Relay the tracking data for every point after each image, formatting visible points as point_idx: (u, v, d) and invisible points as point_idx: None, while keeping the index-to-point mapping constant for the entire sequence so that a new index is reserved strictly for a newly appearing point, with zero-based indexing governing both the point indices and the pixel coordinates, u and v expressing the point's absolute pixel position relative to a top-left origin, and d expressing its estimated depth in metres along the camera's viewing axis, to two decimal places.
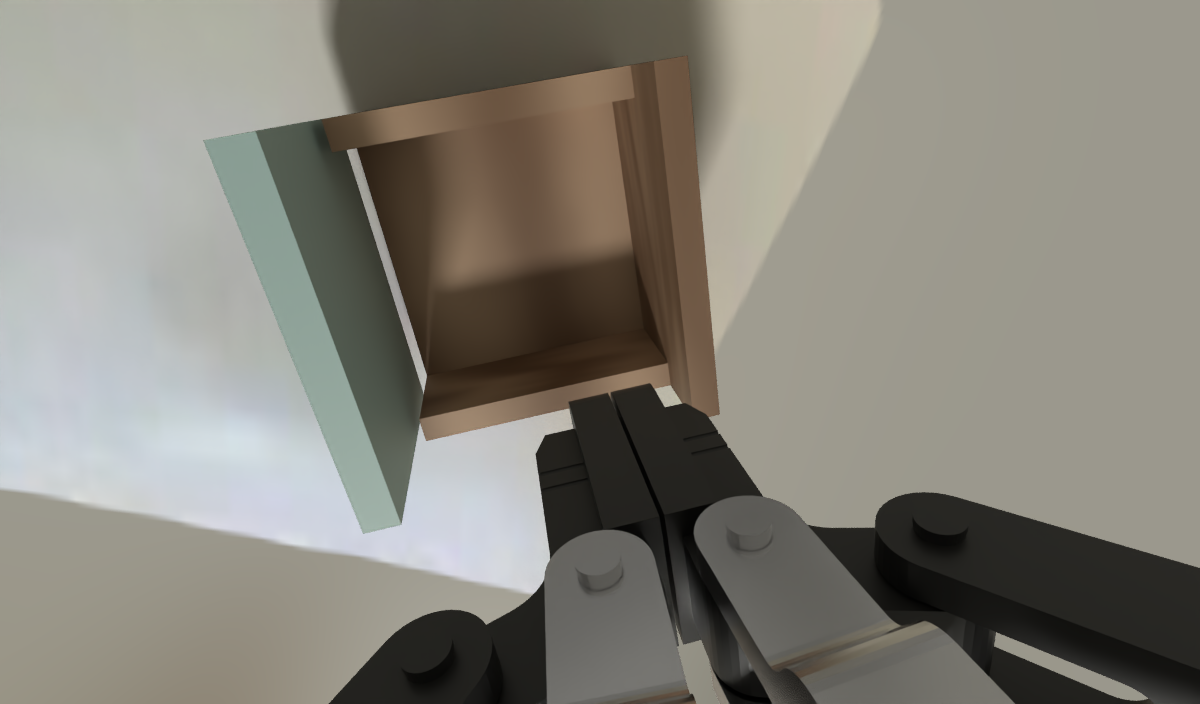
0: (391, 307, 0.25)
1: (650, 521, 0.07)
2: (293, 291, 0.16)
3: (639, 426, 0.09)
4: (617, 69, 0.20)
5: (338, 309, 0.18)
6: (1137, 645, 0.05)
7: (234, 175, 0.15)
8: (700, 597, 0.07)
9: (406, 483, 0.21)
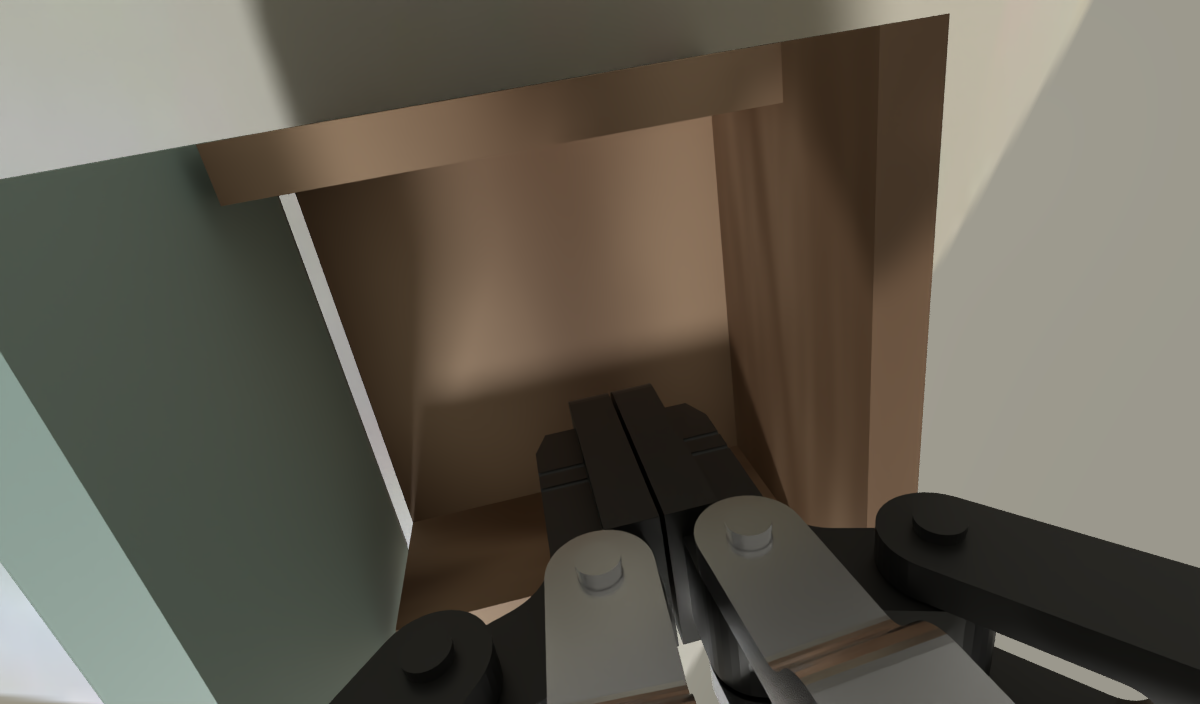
0: (354, 434, 0.16)
1: (650, 521, 0.07)
2: (73, 557, 0.07)
3: (639, 426, 0.09)
4: (757, 49, 0.11)
5: (210, 541, 0.09)
6: (1137, 645, 0.05)
7: None
8: (700, 597, 0.07)
9: None
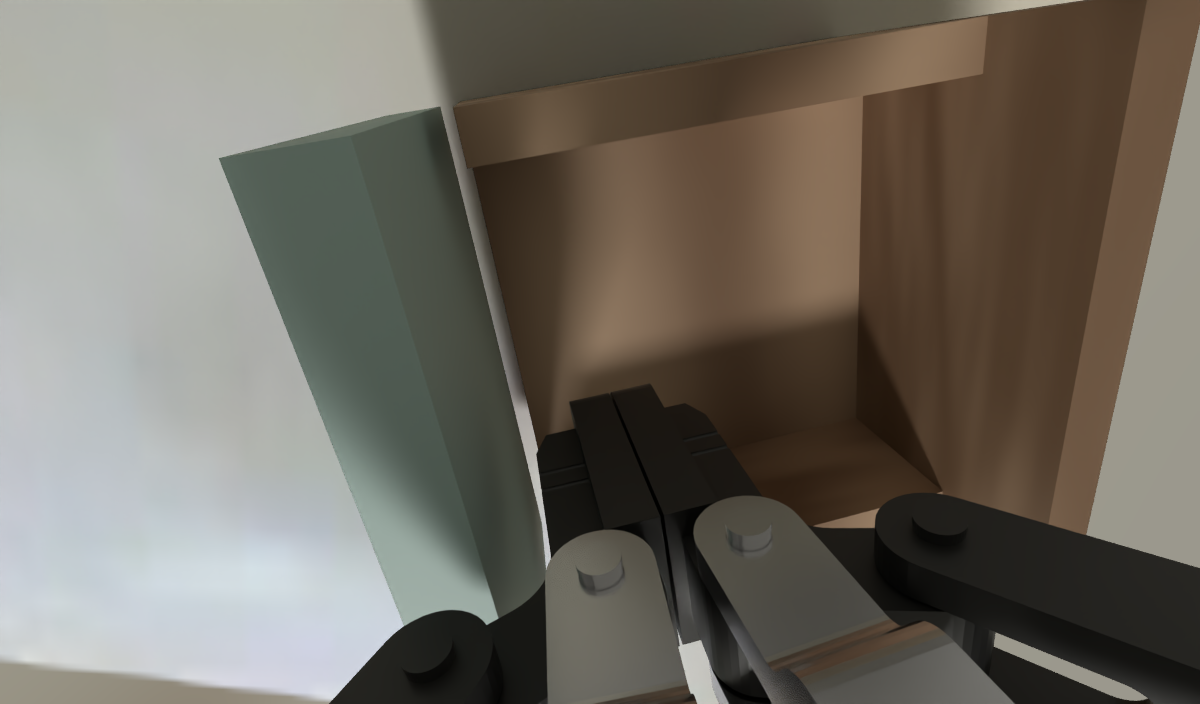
0: (510, 404, 0.16)
1: (650, 521, 0.07)
2: (413, 490, 0.07)
3: (639, 426, 0.09)
4: (966, 22, 0.11)
5: (481, 487, 0.09)
6: (1136, 645, 0.05)
7: (294, 244, 0.06)
8: (700, 597, 0.07)
9: None
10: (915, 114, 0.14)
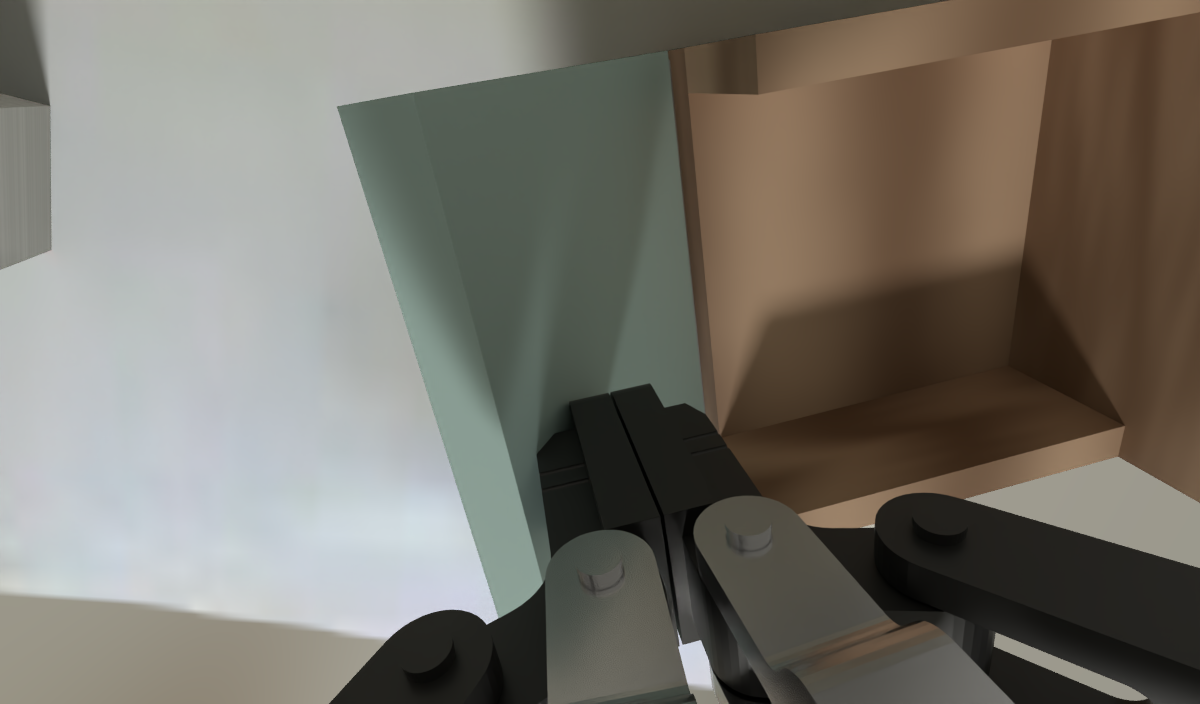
0: (688, 352, 0.17)
1: (650, 521, 0.07)
2: (464, 393, 0.09)
3: (639, 426, 0.09)
4: None
5: (554, 412, 0.10)
6: (1136, 645, 0.05)
7: (381, 177, 0.08)
8: (700, 597, 0.07)
9: None
10: (1124, 55, 0.14)
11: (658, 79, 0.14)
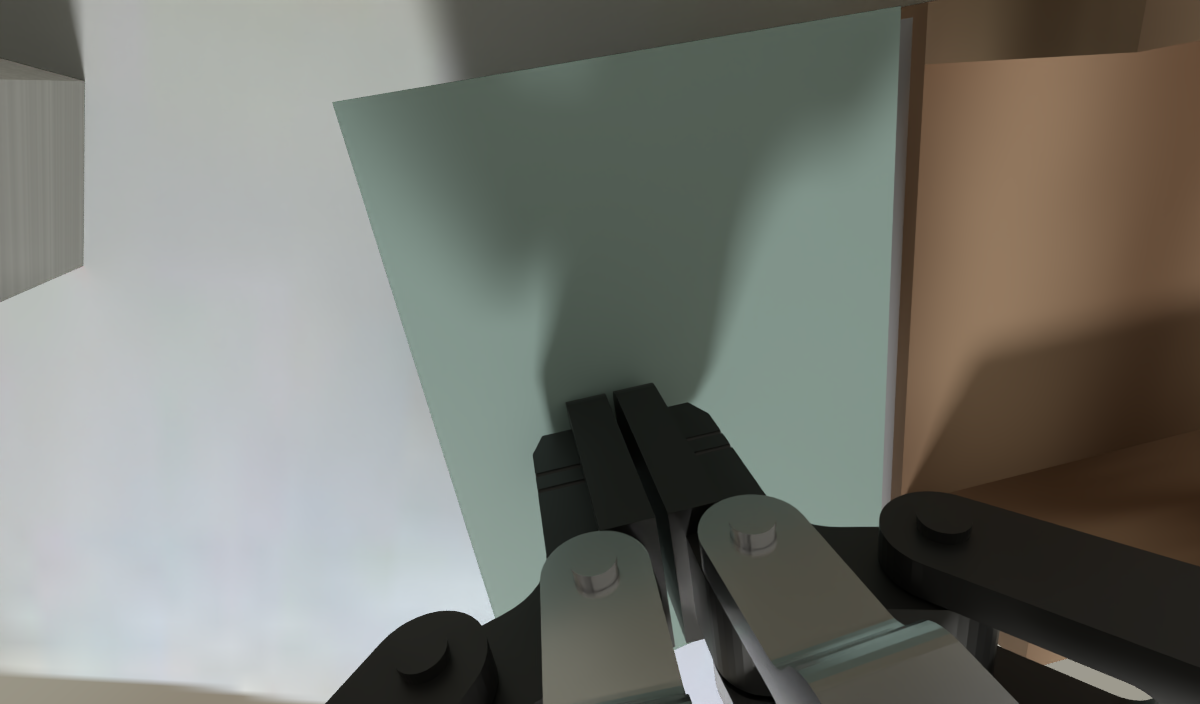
0: (853, 406, 0.13)
1: (654, 520, 0.07)
2: None
3: (642, 425, 0.09)
4: None
5: (519, 409, 0.10)
6: (1141, 644, 0.05)
7: None
8: (704, 596, 0.07)
9: None
10: None
11: (858, 50, 0.10)
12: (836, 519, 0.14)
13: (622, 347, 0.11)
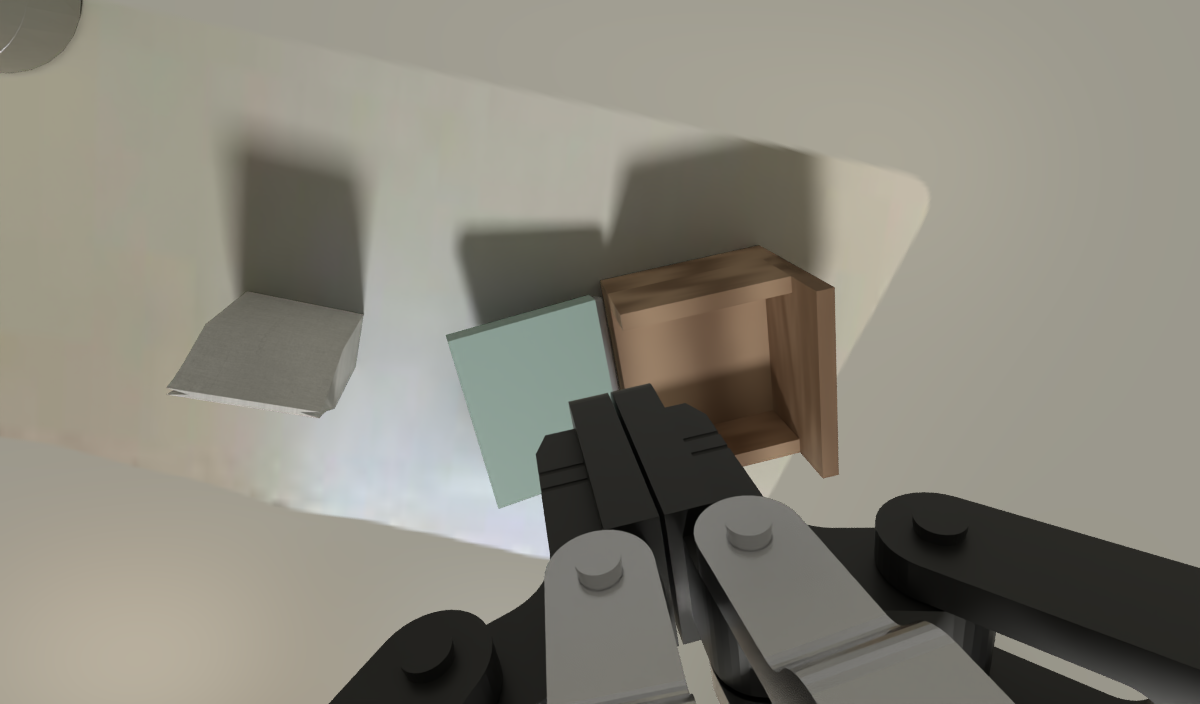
0: None
1: (650, 521, 0.07)
2: None
3: (639, 426, 0.09)
4: (783, 278, 0.35)
5: (493, 410, 0.37)
6: (1137, 645, 0.05)
7: (450, 350, 0.36)
8: (700, 597, 0.07)
9: (527, 496, 0.40)
10: (778, 295, 0.37)
11: (583, 311, 0.37)
12: None
13: (522, 392, 0.38)
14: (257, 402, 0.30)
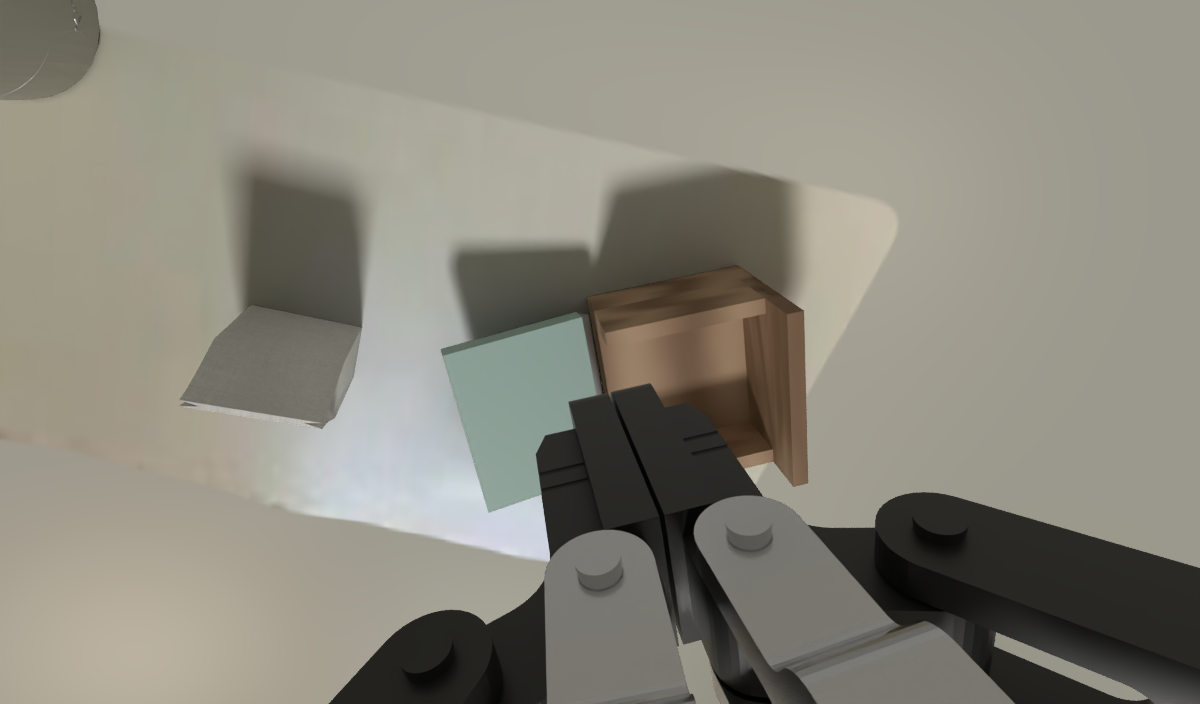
0: None
1: (650, 521, 0.07)
2: None
3: (639, 426, 0.09)
4: (758, 300, 0.37)
5: (484, 420, 0.40)
6: (1137, 645, 0.05)
7: None
8: (700, 597, 0.07)
9: (516, 500, 0.43)
10: None
11: (571, 328, 0.39)
12: None
13: (512, 403, 0.40)
14: (264, 413, 0.32)
